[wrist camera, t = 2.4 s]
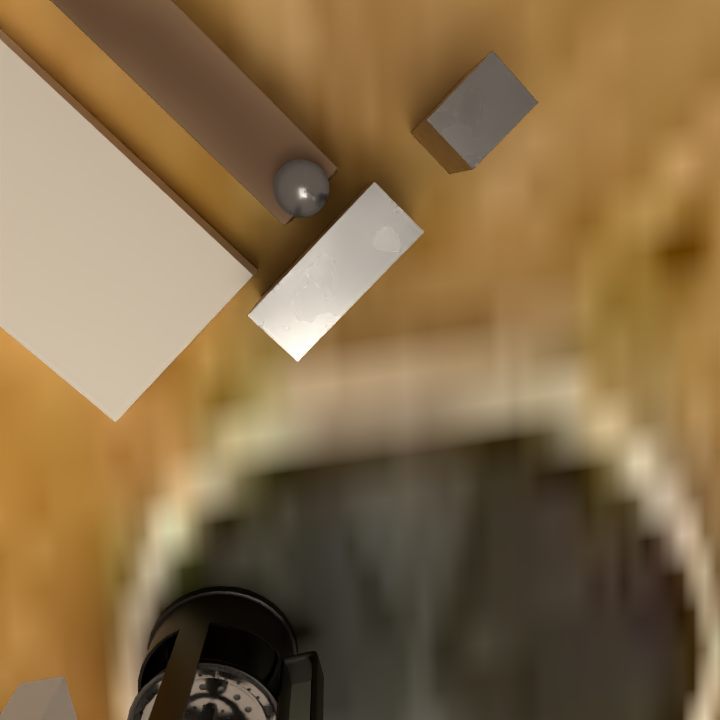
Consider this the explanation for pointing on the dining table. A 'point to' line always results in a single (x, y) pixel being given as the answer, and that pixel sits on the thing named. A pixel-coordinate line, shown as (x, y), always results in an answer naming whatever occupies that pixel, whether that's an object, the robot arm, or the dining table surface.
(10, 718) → the robot arm
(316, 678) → the french press
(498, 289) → the dining table surface
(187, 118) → the bar
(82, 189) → the table-top board
